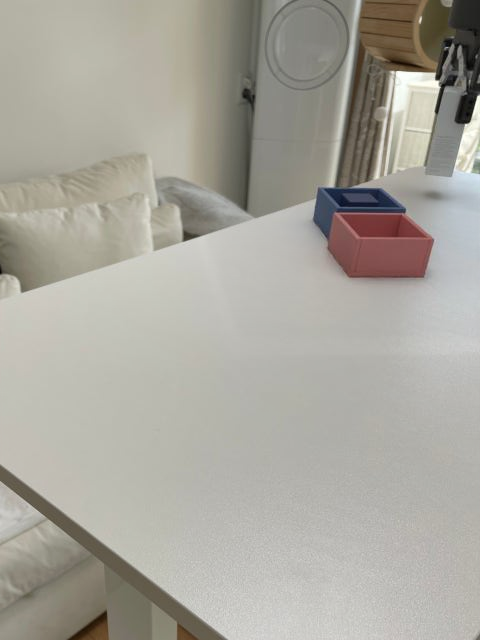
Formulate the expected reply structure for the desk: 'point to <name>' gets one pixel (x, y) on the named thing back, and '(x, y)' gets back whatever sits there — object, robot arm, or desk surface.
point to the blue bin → (330, 204)
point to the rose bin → (379, 245)
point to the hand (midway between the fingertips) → (451, 118)
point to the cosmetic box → (446, 135)
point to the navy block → (358, 200)
